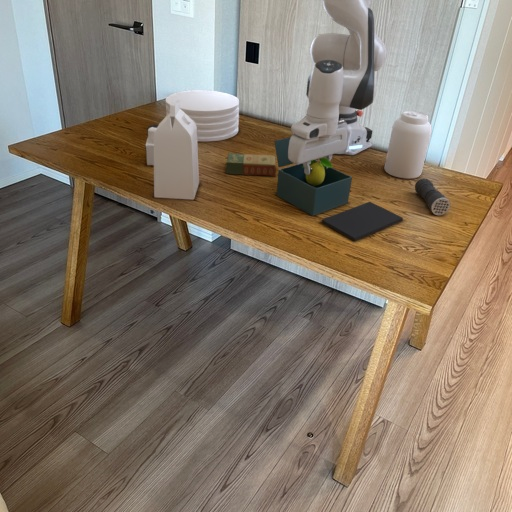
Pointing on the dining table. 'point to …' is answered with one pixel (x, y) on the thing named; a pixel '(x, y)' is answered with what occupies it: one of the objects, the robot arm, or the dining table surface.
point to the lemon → (317, 171)
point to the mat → (361, 221)
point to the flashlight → (432, 197)
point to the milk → (176, 156)
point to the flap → (282, 152)
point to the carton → (251, 164)
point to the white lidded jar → (408, 145)
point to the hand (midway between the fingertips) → (315, 171)
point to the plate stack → (209, 112)
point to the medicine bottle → (150, 144)
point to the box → (313, 189)
